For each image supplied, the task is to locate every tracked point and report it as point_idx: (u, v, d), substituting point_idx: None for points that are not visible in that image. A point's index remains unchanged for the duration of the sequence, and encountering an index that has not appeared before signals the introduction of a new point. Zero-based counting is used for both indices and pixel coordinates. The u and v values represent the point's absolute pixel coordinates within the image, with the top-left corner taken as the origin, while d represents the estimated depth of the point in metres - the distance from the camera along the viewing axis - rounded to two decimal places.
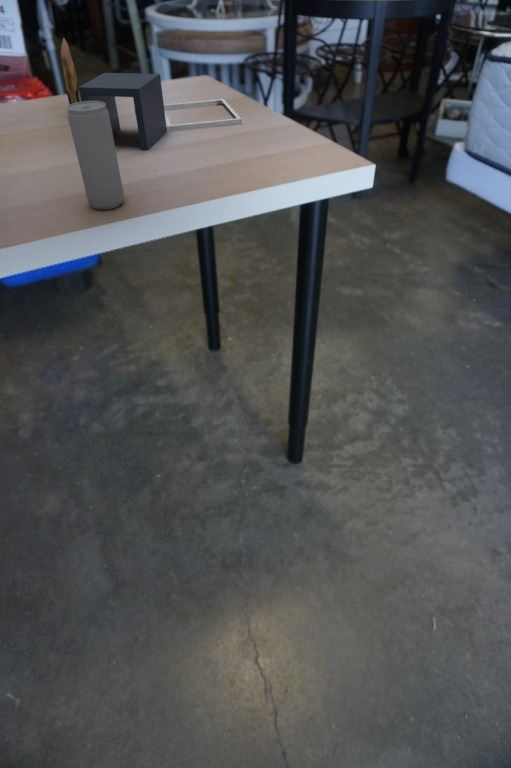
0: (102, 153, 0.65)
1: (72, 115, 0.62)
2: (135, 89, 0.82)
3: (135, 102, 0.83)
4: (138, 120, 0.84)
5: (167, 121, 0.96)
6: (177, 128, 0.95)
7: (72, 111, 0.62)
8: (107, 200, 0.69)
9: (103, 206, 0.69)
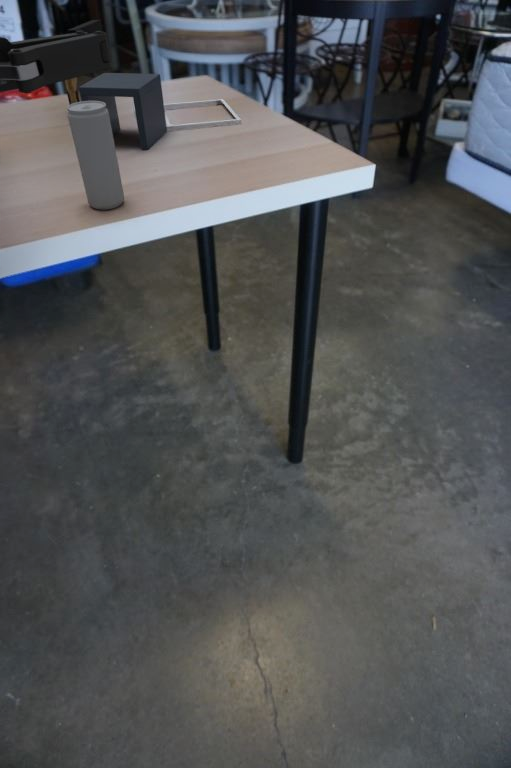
0: (102, 153, 0.65)
1: (72, 115, 0.62)
2: (135, 89, 0.82)
3: (135, 102, 0.83)
4: (138, 120, 0.84)
5: (166, 121, 0.96)
6: (176, 128, 0.95)
7: (72, 111, 0.62)
8: (107, 200, 0.69)
9: (103, 206, 0.69)
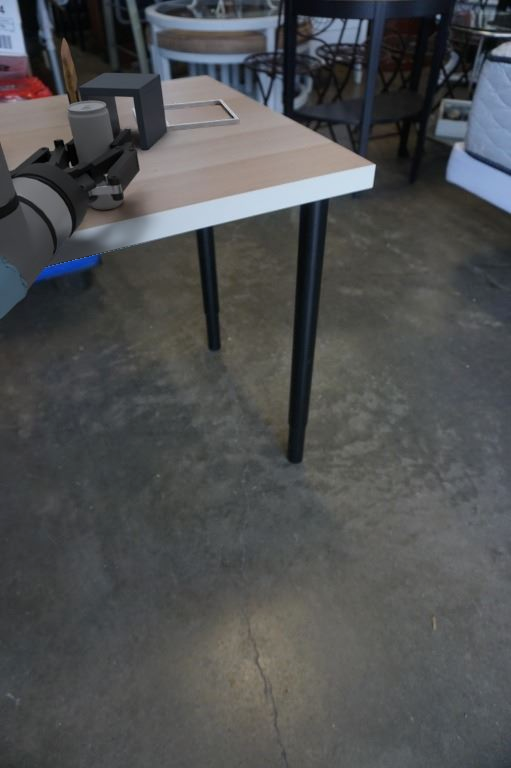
0: (102, 153, 0.65)
1: (72, 115, 0.62)
2: (135, 89, 0.82)
3: (135, 102, 0.83)
4: (138, 120, 0.84)
5: None
6: (175, 128, 0.95)
7: (72, 111, 0.62)
8: (107, 200, 0.69)
9: (103, 206, 0.69)
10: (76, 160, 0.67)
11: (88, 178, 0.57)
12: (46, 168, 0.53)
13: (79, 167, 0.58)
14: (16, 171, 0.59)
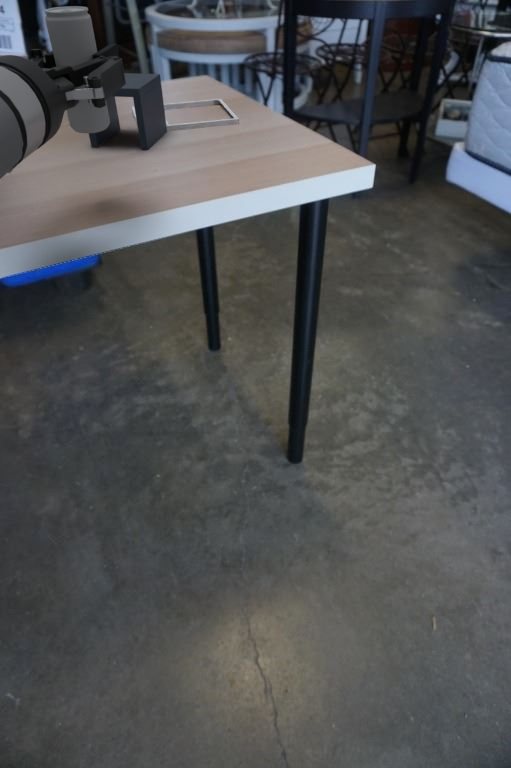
0: None
1: (50, 18, 0.56)
2: (135, 89, 0.82)
3: (135, 102, 0.83)
4: (138, 120, 0.84)
5: None
6: (174, 127, 0.95)
7: (50, 13, 0.56)
8: (91, 121, 0.62)
9: (86, 129, 0.63)
10: None
11: (66, 80, 0.51)
12: (16, 59, 0.47)
13: (56, 69, 0.52)
14: None
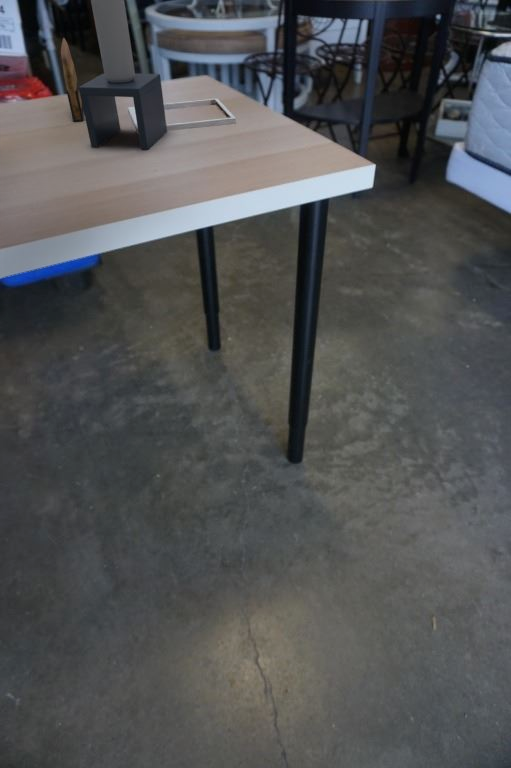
0: (118, 29, 0.80)
1: None
2: (135, 89, 0.82)
3: (135, 102, 0.83)
4: (138, 120, 0.84)
5: None
6: (171, 127, 0.95)
7: None
8: (121, 73, 0.83)
9: (118, 79, 0.84)
10: None
11: None
12: None
13: None
14: None
